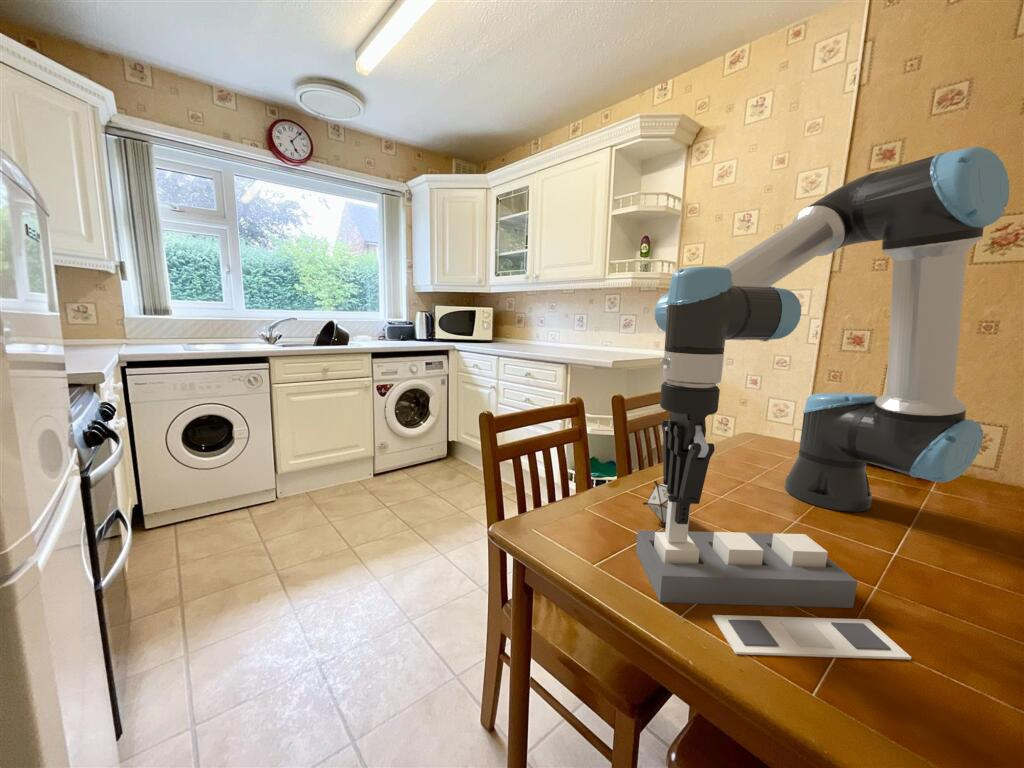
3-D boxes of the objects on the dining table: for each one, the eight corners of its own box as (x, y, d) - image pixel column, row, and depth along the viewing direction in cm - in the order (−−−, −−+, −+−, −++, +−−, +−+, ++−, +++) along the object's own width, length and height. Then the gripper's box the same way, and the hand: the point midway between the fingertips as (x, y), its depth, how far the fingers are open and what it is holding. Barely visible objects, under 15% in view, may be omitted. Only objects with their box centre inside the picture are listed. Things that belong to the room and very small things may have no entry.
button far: (684, 550, 64) (686, 532, 64) (697, 569, 60) (699, 550, 59) (653, 549, 64) (655, 532, 64) (664, 568, 60) (665, 549, 59)
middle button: (743, 550, 64) (745, 532, 64) (761, 569, 59) (763, 550, 59) (712, 549, 64) (714, 531, 64) (727, 568, 59) (729, 549, 59)
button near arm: (802, 552, 64) (804, 534, 63) (824, 571, 59) (827, 551, 59) (770, 551, 64) (773, 533, 64) (790, 570, 59) (793, 551, 59)
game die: (676, 543, 78) (704, 519, 71) (633, 523, 79) (656, 498, 72) (679, 504, 85) (705, 479, 78) (640, 487, 86) (662, 460, 79)
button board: (795, 556, 68) (798, 534, 67) (852, 607, 56) (857, 581, 55) (635, 552, 68) (637, 530, 68) (659, 602, 57) (662, 575, 56)
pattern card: (868, 621, 54) (868, 618, 54) (911, 659, 48) (911, 655, 48) (712, 616, 54) (712, 613, 54) (735, 654, 48) (736, 650, 48)
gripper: (648, 375, 64) (638, 517, 68) (680, 390, 51) (665, 564, 55) (697, 376, 64) (684, 519, 68) (742, 392, 51) (722, 566, 55)
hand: (675, 539), depth 61 cm, fingers closed
